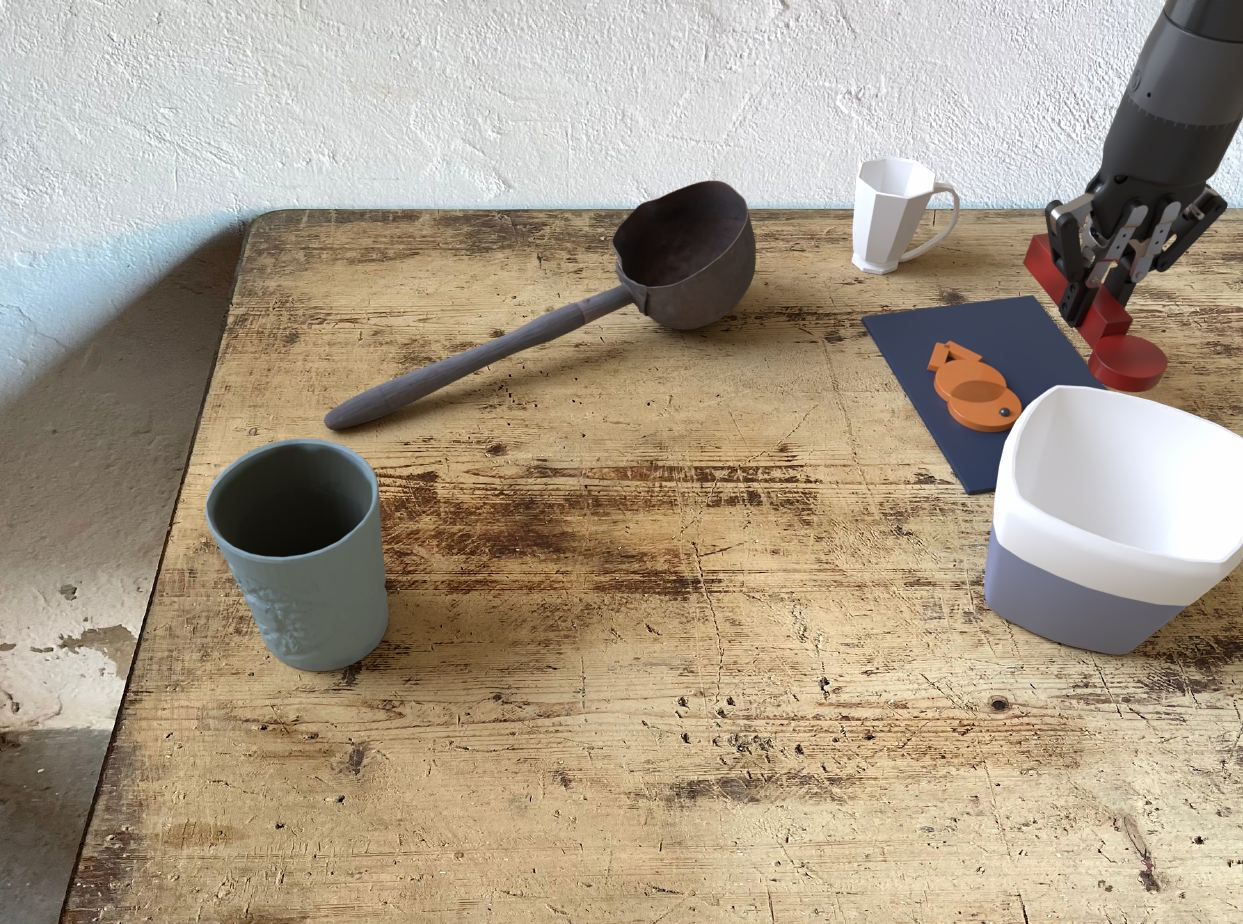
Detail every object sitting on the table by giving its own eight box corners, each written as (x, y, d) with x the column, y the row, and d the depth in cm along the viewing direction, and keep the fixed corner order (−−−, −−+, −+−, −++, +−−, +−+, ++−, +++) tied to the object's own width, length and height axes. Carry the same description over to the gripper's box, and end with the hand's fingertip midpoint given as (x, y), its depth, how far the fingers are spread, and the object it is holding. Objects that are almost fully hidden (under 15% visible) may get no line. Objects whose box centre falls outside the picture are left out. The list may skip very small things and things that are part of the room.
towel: (1031, 298, 99) (1033, 294, 98) (1161, 466, 86) (1164, 462, 85) (860, 320, 96) (861, 316, 96) (967, 495, 84) (969, 491, 83)
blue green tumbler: (394, 561, 79) (372, 429, 69) (407, 674, 73) (384, 546, 63) (248, 579, 78) (205, 447, 68) (249, 694, 72) (202, 568, 62)
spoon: (1005, 265, 92) (1015, 236, 90) (1063, 258, 92) (1075, 229, 90) (1109, 397, 82) (1123, 367, 80) (1173, 388, 82) (1189, 358, 80)
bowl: (984, 484, 84) (1035, 362, 75) (1197, 551, 80) (1277, 431, 71) (931, 625, 76) (981, 506, 67) (1165, 707, 72) (1252, 593, 63)
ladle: (790, 304, 94) (776, 198, 86) (402, 546, 90) (350, 460, 82) (712, 247, 101) (693, 145, 93) (350, 470, 97) (297, 384, 89)
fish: (910, 351, 93) (913, 339, 92) (972, 343, 94) (976, 331, 93) (964, 437, 87) (969, 425, 86) (1031, 427, 88) (1036, 416, 87)
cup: (828, 241, 104) (846, 156, 97) (932, 235, 104) (957, 151, 98) (846, 285, 99) (867, 200, 93) (955, 279, 100) (983, 194, 94)
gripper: (1121, 130, 70) (1026, 360, 84) (1316, 110, 72) (1192, 338, 86) (1064, 74, 74) (983, 301, 88) (1250, 57, 76) (1142, 282, 90)
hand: (1086, 318), depth 87 cm, fingers closed on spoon, 2 cm apart
